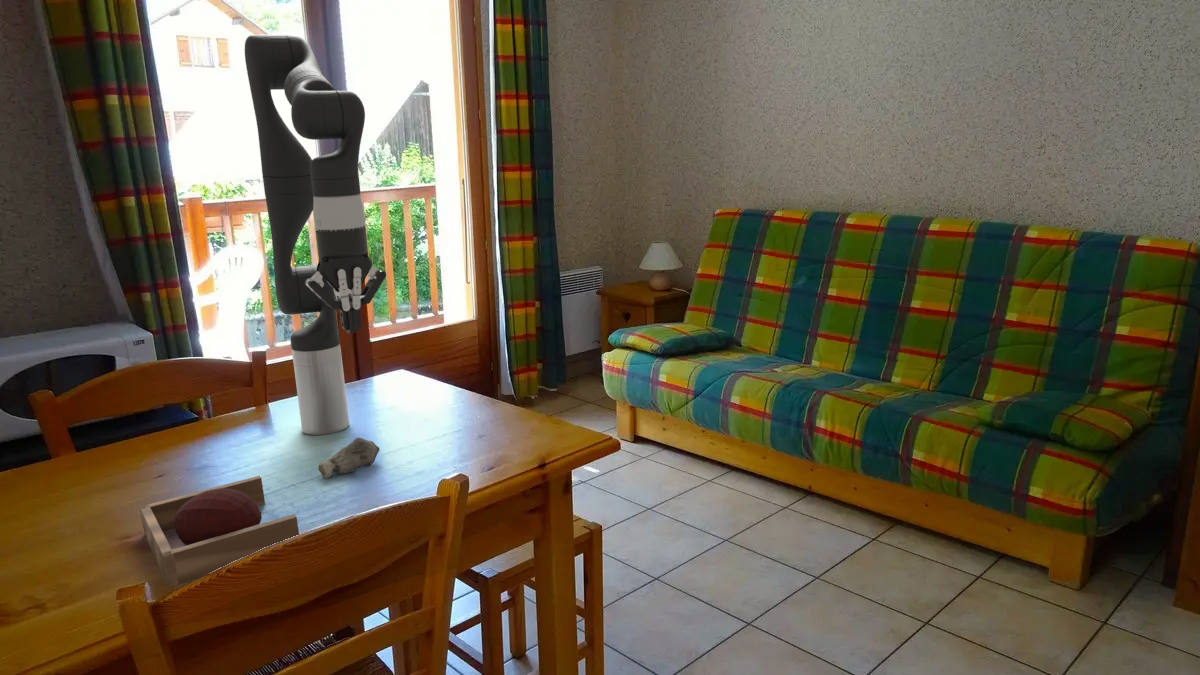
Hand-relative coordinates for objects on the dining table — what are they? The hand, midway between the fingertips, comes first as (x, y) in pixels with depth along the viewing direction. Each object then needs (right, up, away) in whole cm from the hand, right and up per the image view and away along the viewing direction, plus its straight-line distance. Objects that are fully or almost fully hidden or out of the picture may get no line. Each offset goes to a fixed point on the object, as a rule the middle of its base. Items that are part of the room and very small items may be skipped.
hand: (351, 331), depth 131 cm
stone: (-4, -25, +13) cm, 28 cm away
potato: (-15, -31, -13) cm, 37 cm away
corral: (-15, -31, -11) cm, 36 cm away
